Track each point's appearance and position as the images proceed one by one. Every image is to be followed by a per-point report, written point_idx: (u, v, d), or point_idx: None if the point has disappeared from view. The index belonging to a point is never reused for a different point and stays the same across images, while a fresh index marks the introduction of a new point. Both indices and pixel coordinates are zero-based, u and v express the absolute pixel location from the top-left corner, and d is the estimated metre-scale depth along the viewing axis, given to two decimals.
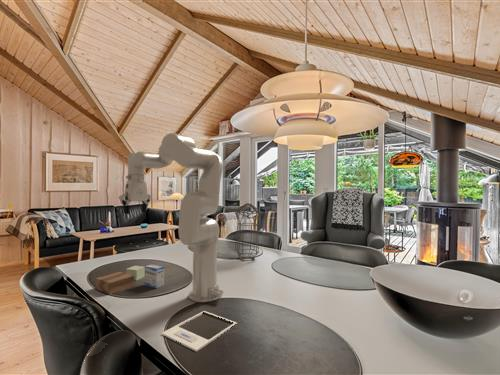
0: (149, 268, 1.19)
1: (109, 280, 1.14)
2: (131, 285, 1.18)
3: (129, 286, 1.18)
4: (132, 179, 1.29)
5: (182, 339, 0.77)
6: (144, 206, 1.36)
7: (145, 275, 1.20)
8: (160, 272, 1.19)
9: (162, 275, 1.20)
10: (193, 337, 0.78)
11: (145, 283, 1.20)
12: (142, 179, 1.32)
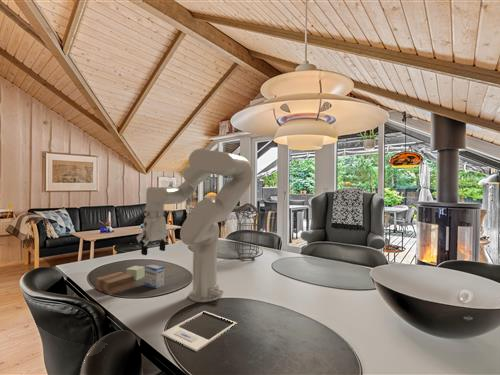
0: (149, 268, 1.19)
1: (109, 280, 1.14)
2: (131, 285, 1.18)
3: (129, 286, 1.17)
4: (151, 216, 1.17)
5: (182, 339, 0.77)
6: (162, 244, 1.25)
7: (145, 275, 1.20)
8: (160, 272, 1.19)
9: (162, 275, 1.20)
10: (193, 337, 0.78)
11: (145, 283, 1.20)
12: (161, 216, 1.20)
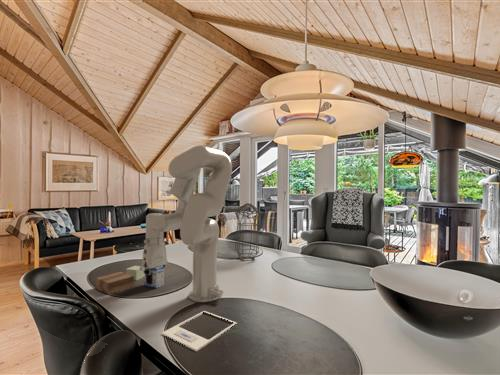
0: None
1: (108, 280, 1.14)
2: (131, 285, 1.18)
3: (129, 286, 1.17)
4: (151, 244, 1.17)
5: (182, 339, 0.77)
6: None
7: (145, 275, 1.20)
8: (160, 272, 1.19)
9: (162, 275, 1.20)
10: (193, 337, 0.78)
11: (145, 283, 1.20)
12: (161, 242, 1.20)
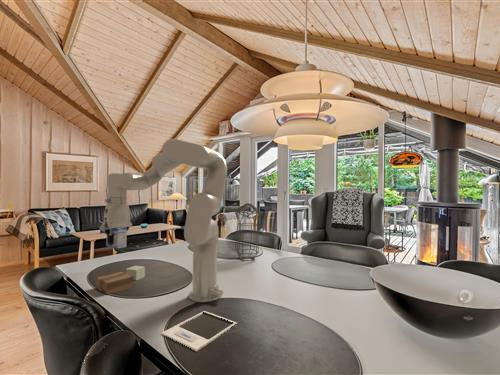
0: None
1: (108, 280, 1.14)
2: (130, 286, 1.18)
3: (128, 287, 1.17)
4: (112, 203, 1.14)
5: (182, 339, 0.77)
6: None
7: None
8: (121, 232, 1.16)
9: (124, 236, 1.17)
10: (193, 337, 0.78)
11: (107, 244, 1.17)
12: (124, 202, 1.17)
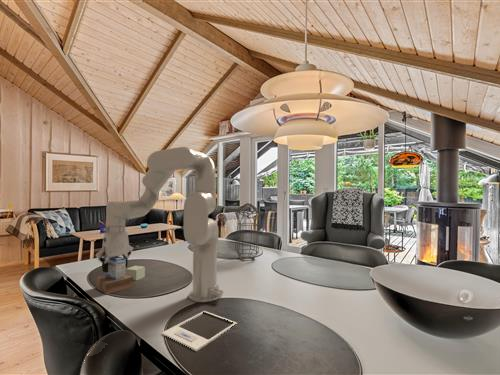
0: (110, 259, 1.17)
1: (107, 280, 1.14)
2: (130, 286, 1.17)
3: (128, 287, 1.17)
4: (111, 232, 1.14)
5: (182, 339, 0.77)
6: None
7: None
8: (120, 263, 1.16)
9: (123, 266, 1.17)
10: (193, 337, 0.78)
11: (106, 274, 1.18)
12: (122, 231, 1.17)
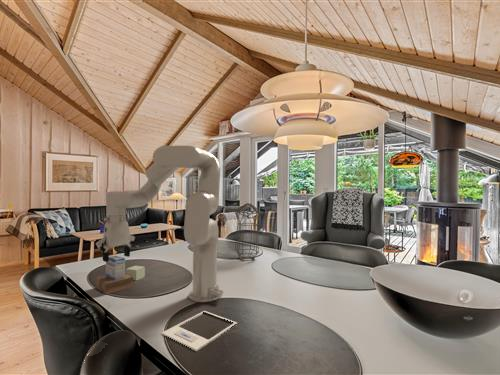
0: (109, 259, 1.16)
1: (107, 280, 1.14)
2: (130, 286, 1.17)
3: (127, 287, 1.16)
4: (111, 221, 1.14)
5: (182, 339, 0.77)
6: (127, 249, 1.21)
7: (106, 266, 1.18)
8: (119, 263, 1.15)
9: (122, 266, 1.17)
10: (193, 337, 0.78)
11: (106, 274, 1.18)
12: (123, 220, 1.17)
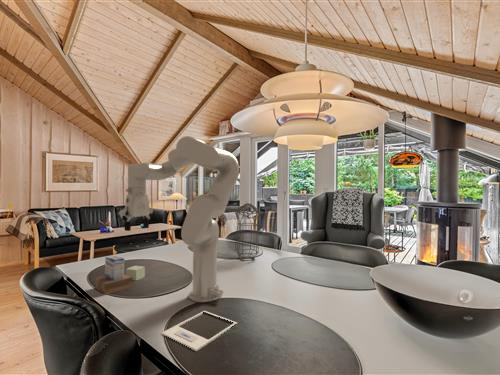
0: (109, 259, 1.16)
1: (107, 280, 1.13)
2: (129, 287, 1.17)
3: (127, 287, 1.16)
4: (133, 192, 1.19)
5: (182, 339, 0.77)
6: (146, 221, 1.26)
7: (105, 266, 1.18)
8: (118, 263, 1.15)
9: (121, 267, 1.16)
10: (193, 337, 0.78)
11: (105, 274, 1.17)
12: (144, 192, 1.22)
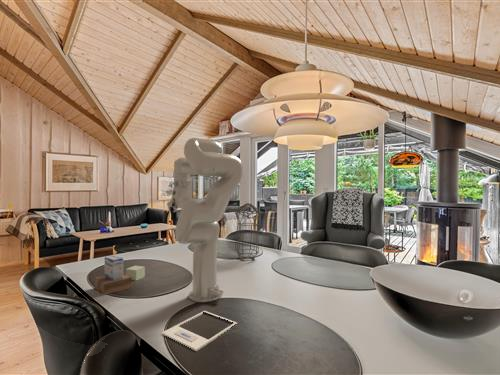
0: (108, 259, 1.16)
1: (106, 280, 1.13)
2: (128, 287, 1.17)
3: (126, 288, 1.16)
4: (179, 186, 1.30)
5: (182, 339, 0.77)
6: None
7: (105, 266, 1.17)
8: (117, 264, 1.15)
9: (121, 267, 1.16)
10: (193, 337, 0.78)
11: (105, 274, 1.17)
12: (188, 185, 1.32)
